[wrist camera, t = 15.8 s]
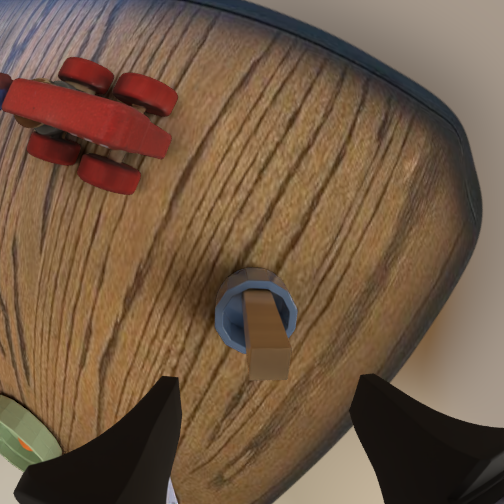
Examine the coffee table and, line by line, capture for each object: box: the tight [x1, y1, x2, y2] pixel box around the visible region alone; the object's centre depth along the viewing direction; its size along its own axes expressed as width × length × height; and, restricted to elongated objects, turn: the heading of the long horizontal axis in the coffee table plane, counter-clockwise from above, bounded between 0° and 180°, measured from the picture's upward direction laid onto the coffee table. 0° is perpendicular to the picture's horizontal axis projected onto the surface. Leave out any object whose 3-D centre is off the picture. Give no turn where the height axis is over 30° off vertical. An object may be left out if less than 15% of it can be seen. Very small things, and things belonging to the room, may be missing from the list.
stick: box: [242, 288, 292, 380], centre depth 15 cm, size 2×2×9 cm
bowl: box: [0, 394, 62, 472], centre depth 20 cm, size 12×12×4 cm
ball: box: [18, 437, 32, 451], centre depth 20 cm, size 3×3×3 cm
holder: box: [215, 267, 297, 354], centre depth 19 cm, size 5×5×3 cm
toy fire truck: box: [0, 57, 178, 195], centre depth 12 cm, size 7×12×10 cm, turn 64°
